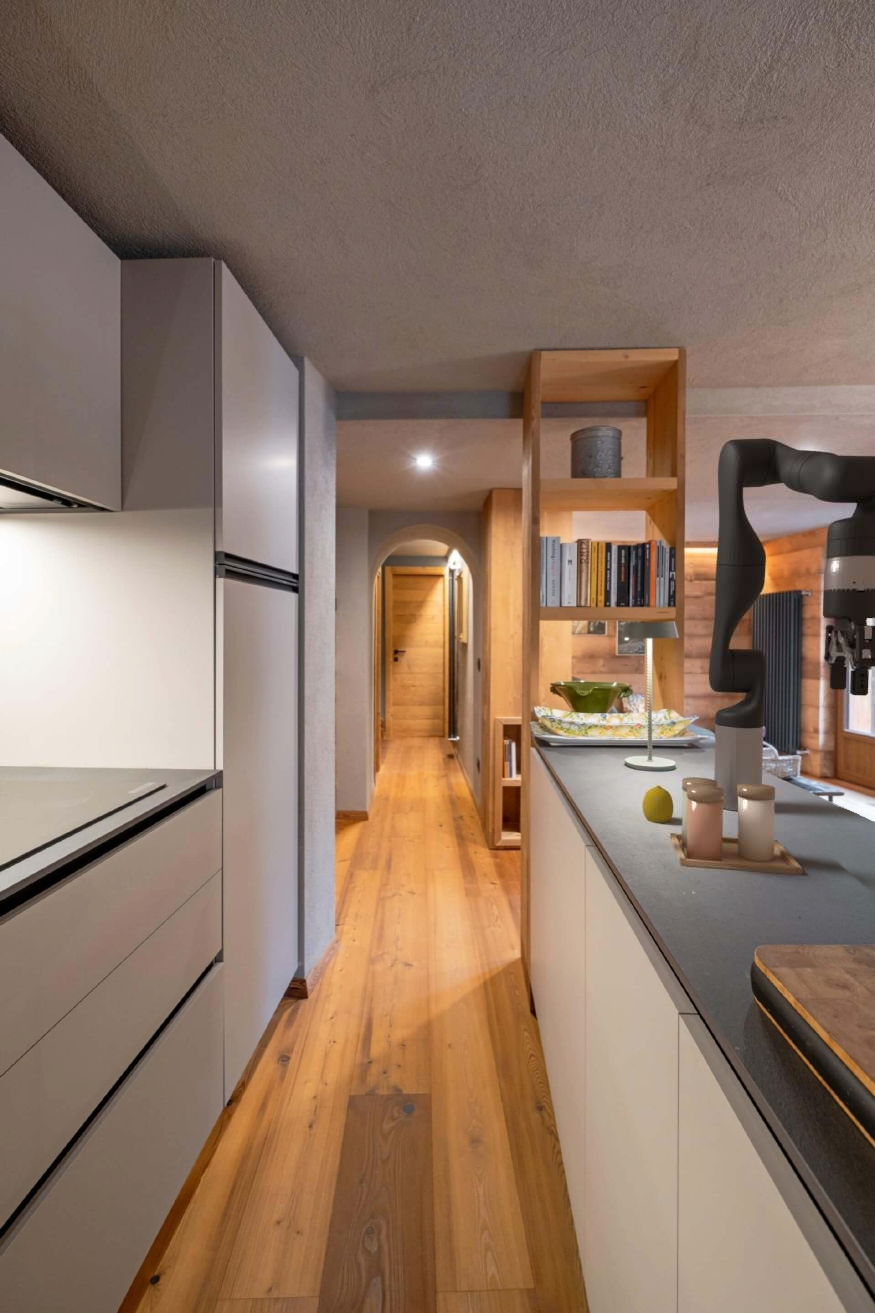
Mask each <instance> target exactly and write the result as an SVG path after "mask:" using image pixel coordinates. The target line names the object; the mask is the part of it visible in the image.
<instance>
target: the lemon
mask: <svg viewBox="0 0 875 1313" xmlns="http://www.w3.org/2000/svg"><path fill="white" fill-rule="evenodd" d="M642 811H643V813H642V814H643V815H644V817H645V819H646V820H647V821H649V822H650V823H656V824H657V823H658V824H664V823H665V824H666V823H668V822H669V821H670V820H671V819H672V817H673V814H674V801H673V798H672V796H671V794H670V792H669V791H668V790H666V789H665V788H663V787H662V786H661V785H656V786H655V787H652V788H649V789H648V790H647V791H646V792H645V794H644V797H643V800H642Z"/></svg>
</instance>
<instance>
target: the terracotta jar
mask: <svg viewBox="0 0 875 1313" xmlns="http://www.w3.org/2000/svg"><path fill="white" fill-rule="evenodd" d="M687 798H688V800H687V851H686V857H687V858H688V859H695V860H709V861H722V837H724V836H723V835H724V834H723V833H724V832H723V830H724V829H723V828H724V827H723V826H724V820H723V819H724V808H723V801H724V789H722V788H720V787H716V786H710V785H690V786H688V787H687Z"/></svg>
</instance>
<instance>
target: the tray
mask: <svg viewBox="0 0 875 1313" xmlns="http://www.w3.org/2000/svg"><path fill="white" fill-rule="evenodd" d="M669 839H670V841H671V842H670V843H671V844H672V847H673V849H674V851H675V854H676V857H677V859H678V862H679V864H680V866H682V867H691V868H692V867H696V868H705V869H707V868H708V869H721V870H734V871H747V872H761V873H774V874H787V875H801V876H803V875H804V868H803V867H802V866H801V865H800V864H799V863H798V862H797V861H796V859H795V858H794V857H793V856H792V855H791V854H790V853H789V851H788V850H786V848H785V847H784V846H783V844H781V843H780V841H779V840H777V839H774V859H773V860H771V861H754V860H749V859H745V858H742V857H740V856H739V855H738V836H737V837H735V836H723V837H722V861H709V860H695V859H688V858H687V857H686V851H687V849H685V848H683V847H682V833H678V832H675V833H674V832H670V833H669Z"/></svg>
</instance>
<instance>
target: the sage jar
mask: <svg viewBox="0 0 875 1313" xmlns="http://www.w3.org/2000/svg"><path fill="white" fill-rule="evenodd" d="M690 785H710V786H716V787H718V782H717V781H715V780H714V779H712V778H707V777H696V776H695V777H694V776H692V777H690V776H689V777H684V778H682V779H681V790H682V816H681V821H682V822H681V834H682V847H683V848H685V849H687V800H688V798H687V787H688V786H690Z"/></svg>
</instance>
